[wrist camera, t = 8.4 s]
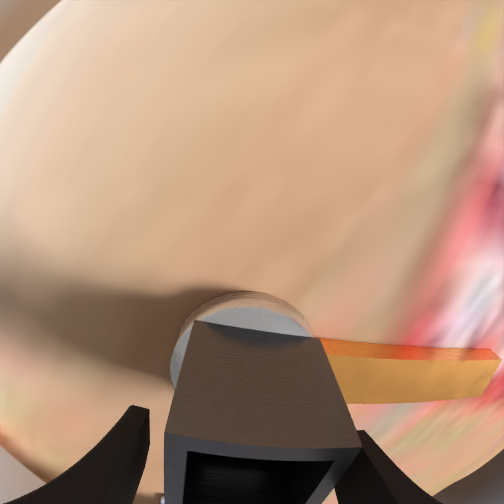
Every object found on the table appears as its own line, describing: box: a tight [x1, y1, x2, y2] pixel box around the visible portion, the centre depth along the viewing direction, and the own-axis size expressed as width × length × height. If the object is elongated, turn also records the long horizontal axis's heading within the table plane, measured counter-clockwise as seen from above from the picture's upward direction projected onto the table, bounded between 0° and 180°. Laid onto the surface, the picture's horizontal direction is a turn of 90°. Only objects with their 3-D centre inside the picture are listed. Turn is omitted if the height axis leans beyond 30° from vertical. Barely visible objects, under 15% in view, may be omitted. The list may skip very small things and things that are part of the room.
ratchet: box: [170, 291, 502, 404], centre depth 13 cm, size 20×7×5 cm, turn 79°
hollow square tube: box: [164, 320, 362, 504], centre depth 10 cm, size 5×5×6 cm
